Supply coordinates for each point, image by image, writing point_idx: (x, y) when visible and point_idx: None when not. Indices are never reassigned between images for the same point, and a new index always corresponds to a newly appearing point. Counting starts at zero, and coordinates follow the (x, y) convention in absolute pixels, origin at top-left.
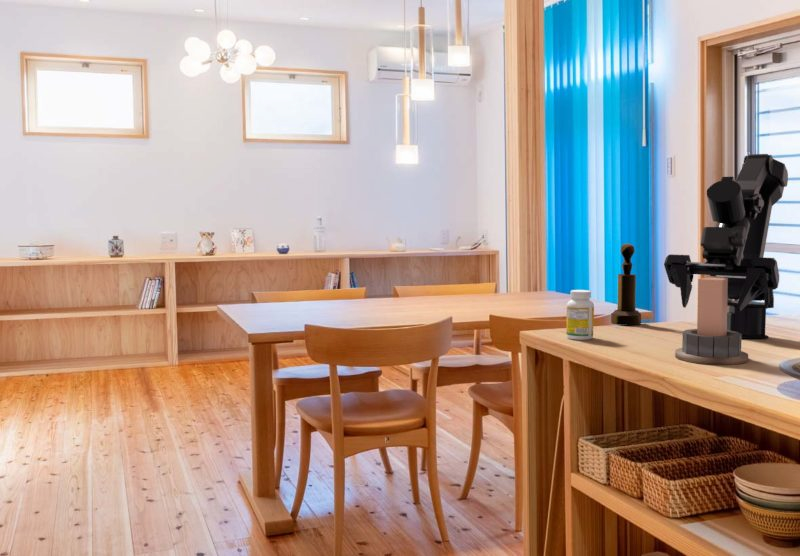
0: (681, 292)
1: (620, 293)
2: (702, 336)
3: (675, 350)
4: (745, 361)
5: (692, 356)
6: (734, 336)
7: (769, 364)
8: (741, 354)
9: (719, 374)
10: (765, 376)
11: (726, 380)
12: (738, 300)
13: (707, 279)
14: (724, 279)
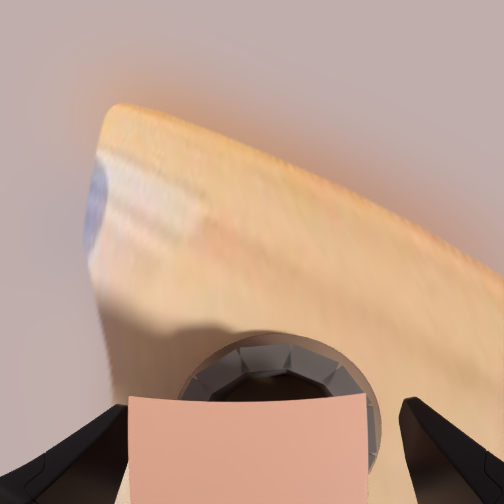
0: (459, 431)
1: None
2: (277, 345)
3: (377, 402)
4: None
5: (302, 340)
6: None
7: None
8: None
9: (204, 240)
10: (120, 275)
11: (183, 198)
12: (109, 427)
13: (271, 409)
14: (130, 478)
